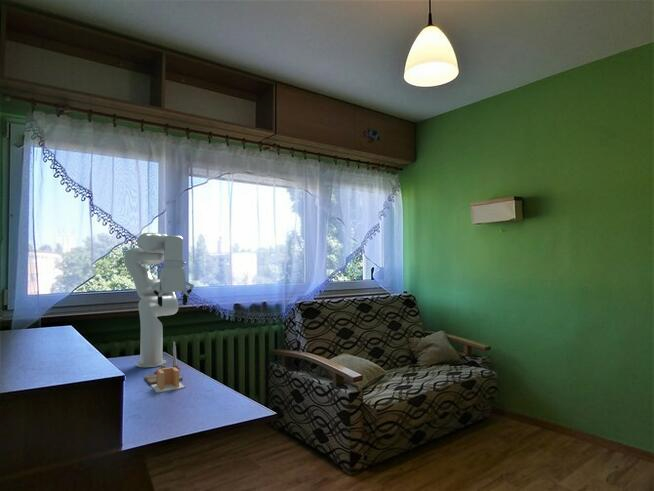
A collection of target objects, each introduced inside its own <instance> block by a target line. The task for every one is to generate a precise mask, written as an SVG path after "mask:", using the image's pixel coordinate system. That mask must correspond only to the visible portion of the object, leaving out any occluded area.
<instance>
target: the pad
mask: <svg viewBox="0 0 654 491" xmlns="http://www.w3.org/2000/svg"><path fill="white" fill-rule="evenodd" d="M150 387H151V388H152V389H153V390H154V391H155V393H164V392H168V391H169V392H170V391H174V390H179V389H180V390H181V389H185V388H186V386H185V385H184V384H183V383H182V382H180V381H179V387H175V386H174V385H173V384H167V385H164V389H162V390H160V388H159V387H158V386H157V384H154V385H150Z"/></svg>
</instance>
